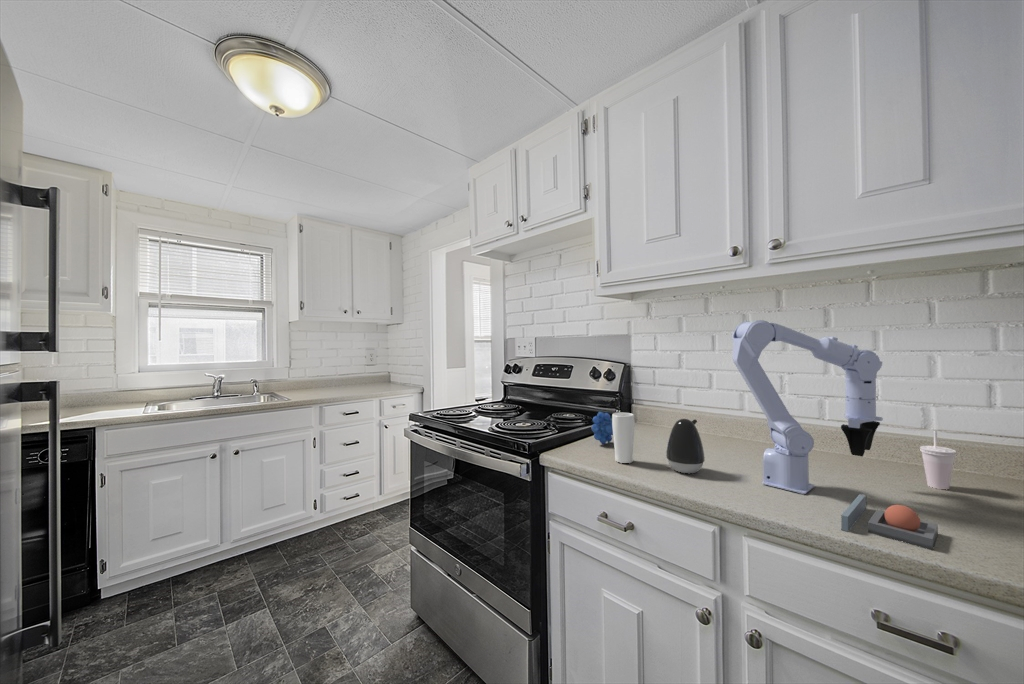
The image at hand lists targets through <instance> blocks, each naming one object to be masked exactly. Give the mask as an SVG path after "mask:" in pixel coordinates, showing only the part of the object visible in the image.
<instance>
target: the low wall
mask: <svg viewBox="0 0 1024 684" xmlns="http://www.w3.org/2000/svg"><path fill="white" fill-rule="evenodd" d="M866 502H867V501H866V494H861V493H859V494H858V496H857V497H856V498H855V499H854V500H853V501H852V502H851V503H850V504H849V506H848V507H847V508H846V509H845V510H844V511H843V513H842V514H841V515H840V516H841V520H840V522H841V526H840V527H841V531H844V532H847V533H848V532H849V531H850V530H851V529H852V527H853V526H854V524H855V523H856V522H857V521H858V519H859V518H860V517H861V515H862V514H863V513H864V512H865V510H866V509H867V508H866V506H867V505H866ZM863 511H864V512H863Z"/></svg>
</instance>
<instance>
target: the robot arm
mask: <svg viewBox="0 0 1024 684" xmlns="http://www.w3.org/2000/svg"><path fill="white" fill-rule="evenodd" d="M731 338H732V339H731V340H732V343H733V345H732V361H733V363H734V365H735V367H736V368H737V370H738V372H739V373H740V375H741V377H742V379H743V380H744V382H745V384H746V386H747V387H748V388H749V390H750V392H751V393H752V395H753V397H754V399H755V401H756V403H757V404H758V406H759V407H760V409H761V410H762V412H763V414H764V416H765V417H766V420H767V421H766V422H767V423H766V424H767V426H768V428H769V429H768V430H769V436H770V439H771V441H772V442H773V443H774V447H773V448H771V447H770V448H769V447H767V448H766V449H765V450H764V452H763V456H762V477H763V479H762V482H761V483H762V485H765V486H769V487H774V488H778V489H781V490H786V491H790V492H793V493H798V494H802V495H806V494H807V493H809V492H811V490H812V489H814V488H815V484H813V483H810V478H809V477H810V472H809V471H810V470H809V466H810V465H809V463H810V462H809V460H810V459H809V453H811V451H813V448H814V446H815V443H814V442H815V441H814V438H813V436H812V435H811V434H810V432H808V431H806V430H805V429H804V428H803V427H802V426H801V424H800V423H799V422H798V421H797V419H795V418H794V417H793V416H792V414H790V411H789V410H788V408H787V407H786V405H785V404H784V401H783V400H782V399H781V397H780V396H779V393H778V392H777V390H776V388H775V387H774V385H773V384H772V382H771V380H770V378H769V377H768V375H767V374H766V372H765V371H764V368H763V367H762V365H761V363H760V362H759V359H760V356H761V355H762V352H763V351H764V349H766V348H767V346H769V344H770V343H772V342H781V343H786V344H789V345H791V346H795V347H798V348H801V349H805V350H807V351H809V352H811V354H812V356H813V358H814V359H818V360H819V361H823V362H826V363H829V364H832V365H834V366H836V367H840V368H841V369H843V371H844V372H845V373H844V374H845V375H844V376H845V379H844V380H845V381H844V382H845V387H844V389H845V390H844V391H845V413H844V418H845V419H846V420H847V421H848V422H847V423H848V424H841V425H840V429H841V431H842V432H843V433H844V435H845V438H846V439H847V444H848V446H849V451H850V455H852V456H855V457H856V456H857V457H864V454H865V451H871V448H872V446H873V445H872V444H873V441H874V440H873V439H874V436H875V433H876V432H877V429H878V427H880V425H881V421H883V419H884V418H883V417H882V416H877V390H876V389H877V384H876V381H877V380H876V379H877V374H878V372H879V371H880V370H881V369H882V366H883V361H881V360H880V357H879V356H878V355H877V353H875V352H874V351H871V350H867V349H860V348H859V345H856V344H851V345H849V344H847V343H844V342H842V341H838V337H835V336H829V337H827V336H824V337H822V338H819V339H818V338H815V337H812V336H811V335H810V336H809V335H807V334H805V333H802V332H800V331H797V330H795V329H792V328H790V327H787V326H784V325H782V324H778V323H775V322H769V321H767V320H764V319H760V320H755V321H754V320H753V321H750V320H748V321H742V322H740V323H739V324H738V325H737V326H736V327H735V330H734V331H733V333H732V335H731Z"/></svg>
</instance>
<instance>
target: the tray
mask: <svg viewBox="0 0 1024 684" xmlns="http://www.w3.org/2000/svg"><path fill="white" fill-rule="evenodd" d="M885 511H886V510H885ZM885 511H884V510H881V509H876V510H875V512H874V513H873V514H872V516H871V518H870V519H869V520H868V522H867V533H868V534H873V535H876V536H879V537H884V538H887V539H891V540H894V539H895V540H894V541H897V540H898V542H901V541H903V542H902V543H905V542H906V543H905V544H908V543H909V544H908V545H913V546H915V545H917V546H916V547H919V546H920V547H919V548H924V549H926V548H927V550H931V551H933V550H934V548H933V547H935V545H934V544H936V541H937V537H938V534H939V532H938V531H939V527H938V526H939V525H938V523H935V522H931V521H927V520H923V519H920V527H919V528H918V530H916V531H915V532H912V531H908V530H904V529H900V528H897V527H893V526H890V525H889V524H888V523H887V522H886V520H885Z"/></svg>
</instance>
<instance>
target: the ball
mask: <svg viewBox="0 0 1024 684" xmlns="http://www.w3.org/2000/svg"><path fill="white" fill-rule="evenodd" d="M885 520H886V522H887V523H888V524H889V525H890V526H893V527H897V528H900V529H904V530H908V531H912V532H915V531H916V530H918V528H919V527H920V520H921V519H920V517H919V515H918V514H917V513H916V511H915V510H914V509H912V508H910V507H908V506H906V505H903V504H894V505H893V504H892V505H890V506H888V507H887V508H886V509H885Z"/></svg>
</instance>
